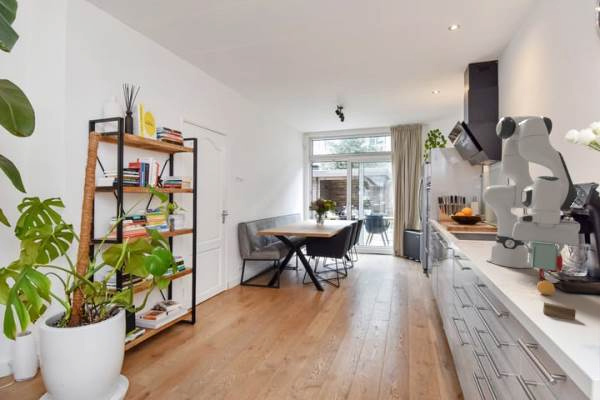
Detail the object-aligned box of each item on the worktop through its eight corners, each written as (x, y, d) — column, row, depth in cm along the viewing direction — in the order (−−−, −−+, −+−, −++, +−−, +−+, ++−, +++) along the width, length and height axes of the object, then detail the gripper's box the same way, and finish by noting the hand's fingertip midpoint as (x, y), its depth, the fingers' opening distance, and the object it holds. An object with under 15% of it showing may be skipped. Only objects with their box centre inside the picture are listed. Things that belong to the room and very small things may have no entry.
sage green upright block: (528, 262, 128) (530, 240, 128) (550, 264, 125) (552, 242, 124) (532, 267, 118) (534, 244, 118) (556, 270, 115) (558, 246, 115)
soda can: (563, 285, 124) (565, 255, 123) (541, 282, 127) (543, 252, 126) (557, 280, 130) (560, 251, 130) (536, 278, 133) (538, 249, 133)
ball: (536, 291, 115) (537, 277, 115) (553, 294, 113) (554, 280, 112) (536, 294, 111) (537, 280, 111) (554, 298, 109) (555, 283, 108)
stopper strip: (543, 312, 95) (543, 302, 95) (573, 317, 92) (573, 307, 92) (544, 314, 94) (545, 304, 94) (574, 320, 90) (575, 309, 90)
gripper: (578, 220, 119) (575, 256, 119) (512, 215, 129) (510, 249, 129) (583, 221, 113) (580, 259, 114) (514, 216, 123) (512, 251, 124)
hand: (542, 254), depth 121 cm, fingers closed on sage green upright block, 7 cm apart
